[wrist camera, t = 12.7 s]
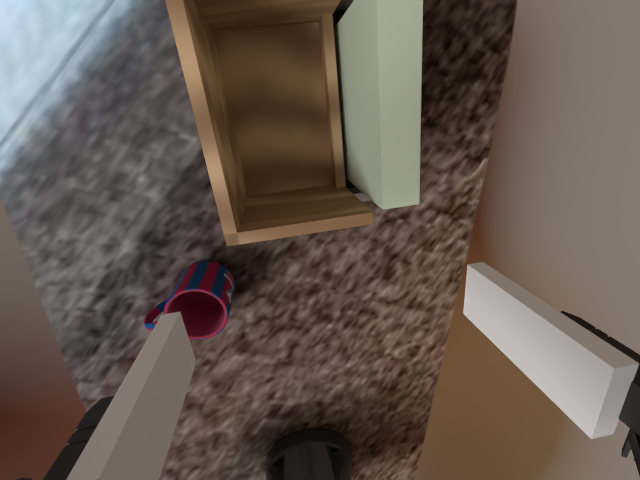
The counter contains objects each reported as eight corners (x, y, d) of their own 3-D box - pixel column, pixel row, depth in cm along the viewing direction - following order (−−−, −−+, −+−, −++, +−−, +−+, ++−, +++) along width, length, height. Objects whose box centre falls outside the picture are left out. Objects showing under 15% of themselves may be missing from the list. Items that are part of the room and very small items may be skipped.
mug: (241, 299, 41) (235, 332, 35) (166, 316, 40) (147, 353, 34) (226, 255, 38) (217, 282, 32) (146, 273, 38) (121, 304, 32)
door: (378, 172, 37) (433, 201, 24) (344, 176, 37) (382, 209, 24) (372, 26, 31) (442, -37, 19) (332, 30, 31) (375, -31, 18)
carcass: (382, 191, 38) (432, 225, 26) (243, 211, 37) (229, 257, 25) (376, -5, 30) (443, -84, 18) (200, 10, 29) (149, -65, 17)
